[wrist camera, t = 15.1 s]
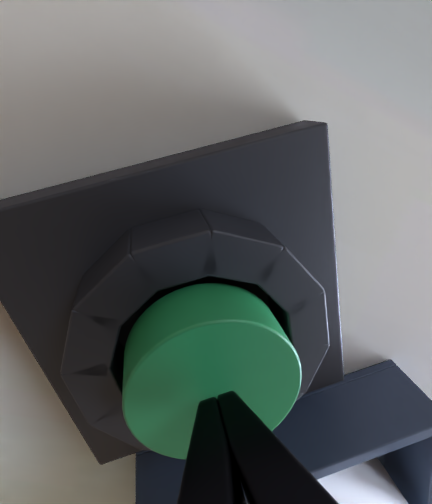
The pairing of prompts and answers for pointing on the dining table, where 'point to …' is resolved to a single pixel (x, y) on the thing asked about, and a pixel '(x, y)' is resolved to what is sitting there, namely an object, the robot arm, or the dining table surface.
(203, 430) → the robot arm
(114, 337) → the control panel
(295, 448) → the blue-grey tray
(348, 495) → the medicine bottle
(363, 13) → the dining table surface
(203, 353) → the button
